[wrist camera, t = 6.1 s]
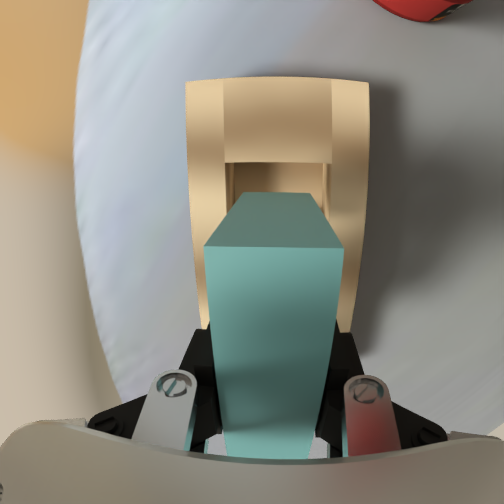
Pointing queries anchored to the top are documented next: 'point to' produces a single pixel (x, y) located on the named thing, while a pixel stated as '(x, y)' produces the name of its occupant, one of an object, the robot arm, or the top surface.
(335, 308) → the teal long block
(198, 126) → the tan slotted block
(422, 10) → the canned food
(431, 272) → the top surface
